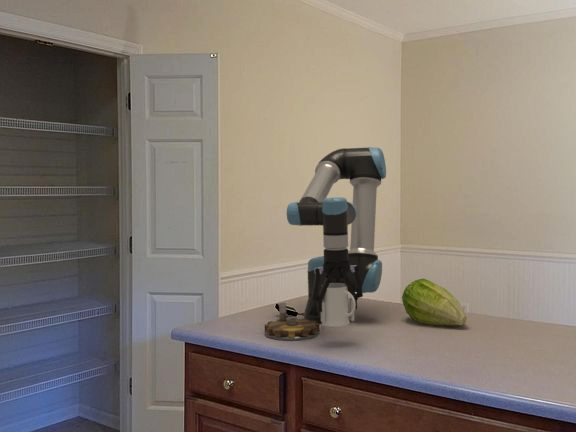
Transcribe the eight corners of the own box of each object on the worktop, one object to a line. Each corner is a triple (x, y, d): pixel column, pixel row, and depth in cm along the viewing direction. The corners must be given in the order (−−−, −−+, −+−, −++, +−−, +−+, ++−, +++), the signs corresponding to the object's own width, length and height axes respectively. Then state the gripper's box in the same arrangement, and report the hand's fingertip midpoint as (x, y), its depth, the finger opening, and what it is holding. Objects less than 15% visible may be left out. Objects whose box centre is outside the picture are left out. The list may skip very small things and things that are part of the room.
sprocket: (330, 332, 193) (329, 308, 193) (280, 340, 184) (280, 315, 184) (302, 320, 209) (301, 299, 209) (255, 328, 200) (255, 305, 200)
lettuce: (473, 335, 204) (444, 347, 194) (419, 303, 222) (390, 313, 213) (482, 297, 198) (453, 308, 189) (426, 267, 217) (396, 276, 207)
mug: (363, 324, 180) (362, 286, 179) (344, 330, 174) (343, 290, 173) (334, 318, 189) (333, 281, 188) (316, 323, 183) (315, 285, 182)
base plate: (313, 324, 208) (313, 322, 207) (325, 338, 189) (325, 336, 189) (261, 328, 204) (261, 325, 204) (268, 342, 186) (268, 339, 186)
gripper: (365, 244, 185) (367, 315, 186) (299, 248, 181) (301, 320, 183) (373, 248, 177) (374, 321, 179) (304, 251, 174) (306, 326, 176)
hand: (337, 321), depth 181 cm, fingers closed on mug, 8 cm apart
